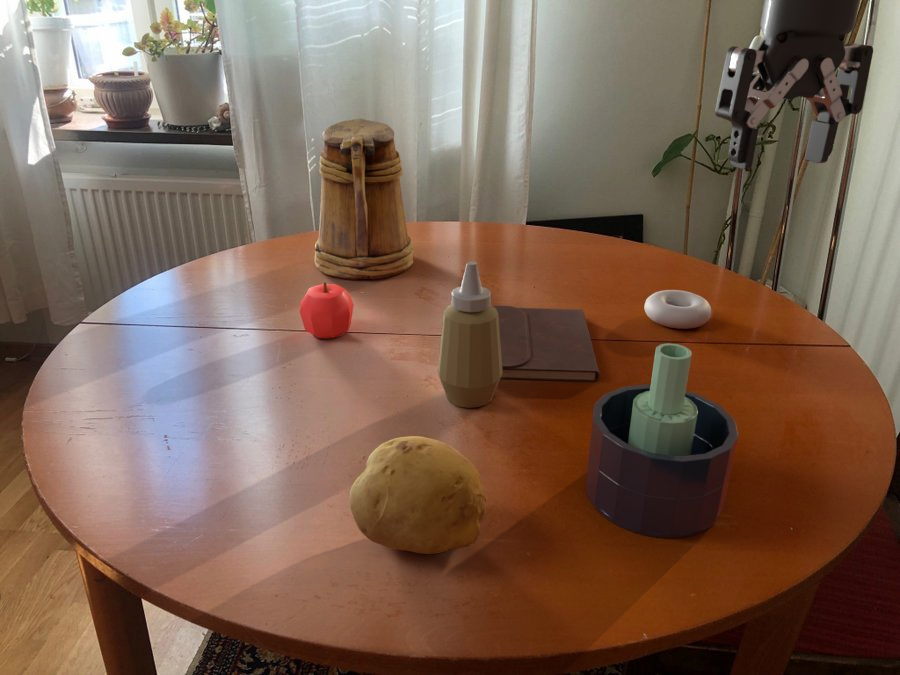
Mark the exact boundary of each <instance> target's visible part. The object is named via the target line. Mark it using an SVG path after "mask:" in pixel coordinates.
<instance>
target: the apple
mask: <svg viewBox="0 0 900 675" xmlns="http://www.w3.org/2000/svg"><path fill="white" fill-rule="evenodd" d="M354 307H355V306H354V301H353V298H352V296H351V294H350V293H349V292H348V291H347V289H346V288H344V287H342V286H340V285H338V284H334V283H333V284H332V283H331V284H330V283H327V282H326V281H323V283H322V284H318V285H314V286H311V287H309V288H308V290H307V292H306V293H305V295H304V296H303V298H302V300H301V302H300V306H299V315H300V318H301V322H302V325H303V327H304V330H305V331H307V332H308V333H309V334H311V335H313V336H315V337H316V338H318V339H319V340H320V338H324V339H335V338H338V337H341V335H342V336H343V335H345V334H347V332H348V331H349V329H350V327H351V324H352V319H353V313H354Z"/></svg>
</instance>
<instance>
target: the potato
mask: <svg viewBox="0 0 900 675" xmlns="http://www.w3.org/2000/svg"><path fill="white" fill-rule="evenodd" d="M348 495H349V506H350V510H351V515H352V516H353V519H354V522H355V524H356V526H357V528H358V530H359V531H360V532H361V534H362V535H363V536H364V537H366V538H367V539H368V540H370V541H371V542H372V543H373V542H374V543H375V544H377V545H381V546H384V547H387V548H391V549H395V550H399V551H400V550H401V551H407V552H413V553H417V554H425V555H433V554H439V553H444V552H449V551H453V550H455V549H459V548H468V547H469V546H470V545H472V544H476V542H477V541H478V538H479V535H480V531H481V530H480V529H481V523H482V522H483V520H484V518H485V517H486V516H485V515H486V513H487V506H486V501H487V500H486V499H487V498H486V493H485V490H484V484H483V480H482V478H481V475H480V473H479V472H478V470H477V468H476V467H475V466H474V464H473V463H472V462H471V461H470V460H469V459H468V458H467V457H466V456H464V455H463V454H462V453H460V452H459V451H457V450H456V449H455V448H454V447H452V446H450V445H448V444H447V443H445V442H442V441H440V440H437V439H434V438H430V437H426V436H420V435H419V436H418V435H415V436H414V435H413V436H410V435H409V436H400V437H395V438H392V439H390V440H387V441H385V442H383V443H380V444H379V445H378V446H377V447H376V448H375V449H373V451H372V452H371V453H370V454H369V456H368V458H367V460H366V462H365V469H364V470H363V472H362V473H361V474H360V475H359V476H358V477H356V478H355V481H354V482H353V484H352V485H351V488H350V490H349V494H348Z"/></svg>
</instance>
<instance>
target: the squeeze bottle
mask: <svg viewBox="0 0 900 675" xmlns="http://www.w3.org/2000/svg"><path fill="white" fill-rule="evenodd" d="M493 306H494V305H492V292H491V290H490V289H488V288H487V287H485V286H483V285H482V281H481V277H480V273H479V268H478V263H477V262H476V261H467V262H466V264H465V267H464V272H463V277H462V280H461V286H457V287H456V288H454V289H453V290H451V304H450V305H448V306H447V307H446V308H445V309H444V310H443V317H442V325H441V326H442V327H441V336H440V337H441V338H440V345H439V355H438V363H437V364H438V365H437V374H438V378H439V380H440V383H441V386H442V388H443V391H444V394H445V396H446V398H447V400H448V402H450V403H451V404H453V405H455V406H458V407H460V408H468V409H471V408H479V407H483V406H486V405H488V404H489V403H490V402H492V400H493V398H494V396H495V393H496V391H497V388H498V386H499V384H500V380H501V379H500V378H501V376H502V373H503V371H502V357H501V344H500V331H499V318H498V312H497V310H496V309H495V308H494V307H493Z"/></svg>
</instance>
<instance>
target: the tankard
mask: <svg viewBox="0 0 900 675" xmlns="http://www.w3.org/2000/svg"><path fill="white" fill-rule="evenodd" d="M321 138H322V141H323V150H322V152H321V154H320V156H319V163H318V164H319V174H320V175H321V187H320V208H319V209H320V210H319V228H318V239H317V241H316V242H315V244H314V258H313V259H314V265H315V267H316V269H317V270H318V271H320V272H322V273H323V274H325V275H328V276H331V277H335V278H339V279H344V280H345V279H346V280H355V281H357V280H379V279H383V278H389V277H393V276H395V275H396V276H397V275H398V274H401V273H404V272H405V271H407V270H408V269H409V268H410V267H411V266H412V265H413V264H414V254H415V252H414V251H415V250H414V248H413V246H414V245H413V240H412V238H411V237H410V236H409V233H408V226H407V225H408V224H407V219H406V213H405V206H404V200H403V194H402V193H403V192H402V185H401V177H402V176H403V167H402V160H401V155H400V153H399V151H397V150H396V144H395V131H394V130H393V129H392V127H391V126H390V125H388V124H386V123H383V122H379V121H374V120H369V119H364V118H361V117H359V118H354V119H348V120H343V121H339V122H336V123H334V124H332V125H330V126H328V127H327V128H326V129H325V130H324V131H323V132H322V134H321Z"/></svg>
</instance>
